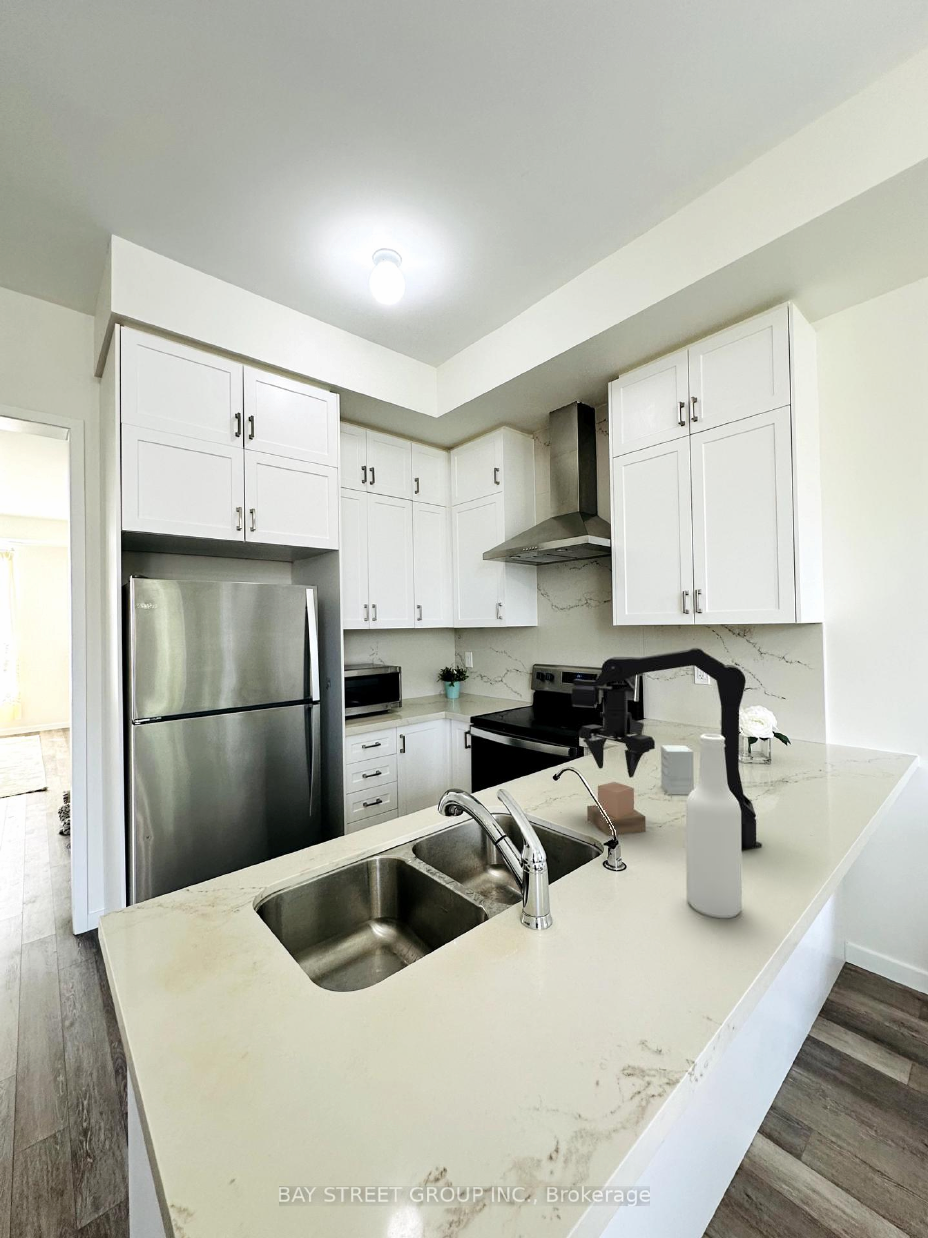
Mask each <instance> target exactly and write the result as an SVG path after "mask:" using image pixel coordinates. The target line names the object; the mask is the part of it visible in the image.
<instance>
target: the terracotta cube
mask: <svg viewBox="0 0 928 1238" xmlns="http://www.w3.org/2000/svg"><path fill="white" fill-rule="evenodd" d="M598 802H599V803H600V805H601V806H602V808H603V810H605V812H606V814H608V815H611V816H613V817H616V818H619V817H622V816H625V815H628V814H631V813H634V810H635V788H634V787H631V786H630V785H629V786H628V785H626V784H623V783H620V782H617V781H611V782H608V783H604V784H600V785H598V786H597V803H598ZM598 811H600V809H599V808H598Z"/></svg>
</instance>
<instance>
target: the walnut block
mask: <svg viewBox="0 0 928 1238" xmlns="http://www.w3.org/2000/svg"><path fill="white" fill-rule="evenodd" d="M596 805H597V804H594V805H593V804H591V805H587V807H586V809H587V811H586V812H587V813H586V814H587V815H586V816H587V819H586V820H587V821H588V822H589V821H590V822H591V823H592V825H593V826H594V825H595V826H596V827H595V826H594V827H595V828H597V829H598V830H599V831H600V830H601V831H600V832H601V833H603V834H604V835H606V836H607V837H610V836H611V837H612V836H613V837H614V835H612V830H611V829H610V826H609V823H607V821H606V819H605V817H603V815H602V814H601V812H600V811H598V806H596ZM607 816H608V817H609V819H610V821H611V823H612V825H613V826H614V829H615V830H616V834H617V835H616V836H618V835H619V836H620V835H627V834H636V833H643V832H646V831H647V830H646V829H647V828H646V819H647V818H646V816H645V815H644V814H643V813H641V812H639V811H638V810H637V809H634V813H631V814H628V815H625V816H622V817H619V818H616V817H613V816H611V815H608V814H607ZM590 822H589V823H590ZM591 823H590V824H591Z"/></svg>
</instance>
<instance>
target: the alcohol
mask: <svg viewBox="0 0 928 1238" xmlns="http://www.w3.org/2000/svg"><path fill="white" fill-rule="evenodd" d="M699 738H700V742H699V746H700V752H699V753H700V755H699V768H698V781H697V784H696V786H694V789H693V790H692V791H691V793H690V794H689V795H687V800H686V801H685V802H686V803H685V847H686V848H685V855H686V857H685V858H686V859H685V861H686V862H685V864H686V865H685V867H686V871H685V872H686V874H685V875H686V877H685V878H686V881H685V883H686V898H687V901H688V903H689V904H690V905H691V907H692V908H693V909H694V910H695V911H697V912H699V913H700V914H702V915H704V916H708V917H711V918H715V919H731V918H735V917H736V916H737V915H739V913H740V912H741V910H742V908H743V905H742V904H743V903H742V902H743V899H742V898H743V897H742V891H743V890H742V888H743V887H742V883H743V881H742V880H743V879H742V875H743V874H742V873H743V872H742V850H741V809H740V806H739V802H738V800H737V799H736V797H735V796H734V795H733V794H732V793H731V791H730V790H729V787H728V784H727V773H726V762H725V751H724V747H725V744H724V740H725V738H724V737H723V736H721V734H718V733H717V734H716V733H703V734H701V735H700V736H699Z"/></svg>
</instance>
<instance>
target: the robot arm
mask: <svg viewBox="0 0 928 1238" xmlns="http://www.w3.org/2000/svg"><path fill="white" fill-rule="evenodd" d="M691 666H692V667H693V666H694V667H696V668H698V669H699V670H701V671H702V672H703V673H705V674H706V675H708V676H709V677H711V678H712V679H713V680H715V681H716V687H717V691H718V692H717V693H718V698H719V702H720V735H721V736H723V737H724V738H725V740H724V744H725V747H724V751H725V762H726V773H727V784H728V787H729V790H730V791H731V793H732V794H733V795H734V796H735V797H736V799H737V800H738V802H739V806H740V809H741V851H745V850H750V849H755V848H761V847H762V846H763V844H762V843H761V842H758V841H757V818H756V817H757V814H756V811H755V808H754V805H753V802H752V801H751V800H750V799H749V798H748V797H747V796H746V795H745V794H744V789H743V783H742V780H741V775H740V764H739V763H740V707H741V704H742V701H743V700H742V699H743V696H744V692H745V688H746V687H745V686H746V682H747V681H746V675H745V674H744V672H743V671H742V670H741V669H740V668H739V667H737V666H736V665H734V664H724V663H723V662H721V661H719V660H718V659H716V658H714V657H713V656H711V655H709V654H708V653H707V652H705V651H704V650H703V649H702V648H699V647H692V648H690V649H685V650H679V651H672V652H665V653H660V654H654V655H647V656H641V657H639V656H637V657H636V656H614V657H610V658H608V659H606V660H605V661H604V662H603V663H602V666H601V668H600V669H601V672H600V674H599V675H598V676H597V677H596V678H595V680H591V679H589V680H588V679H586V680H585V679H581V678H575V679H574V680H573V686H572V691H571V693H570V694H571V695H570V696H571V697H570V701H571V705H572V707H577V708H579V707H580V708H595V709H596V708H597V705H598V704H599V705H601V703H602V712H599V718H602V719H603V720H602V726H601V725H597V724H589V725H583V726H581V728H580V729H579V739H583V740H582V742H583V743H585V744H586V746H587V748H588V749H589V751H590V753H591V754H592V757H593V760H594V761H595V763H596V765H597V767H598V769H603V768H604V753H605V751H604V750H605V748H604V747H605V744H606V742H607V740H608V741H613V742H616V743H621V744H625V747H626V748H627V749H625V750H624V754H625V761H626V769H627V774H628V777H629V778H634V775H635V774H636V770H637V767H638V765H639V762H640V761H641V758H642V757H643V756H644V755H645V754H646V753H649V752H650V751H651V750H654V749H656V747H655V746H656V742H655V739H654V738H653V737H652V736H649V735H645V734H642V733H643V729H644V726H645V725H644V724H645V723H643V722H640V721H637V720H635V719H633V717H632V716H633V715H632V713H631V712H628V692H629V693H632V692H633V693H634V692H635V691H636V686H634V685H633V684H631V682H630V681H631V680H628V679H630V678H633V677H635V676H638V675H641V674H645V673H650V672H651V673H652V672H659V671H664V670H670V669H671V670H672V669H679V668H684V667H685V668H686V667H691ZM624 680H627V681H626V682H625V683H617V682H620V681H624ZM609 682H610V683H612V684H611V686H605V685H606V684H608V683H609ZM629 735H630V736H629Z"/></svg>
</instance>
